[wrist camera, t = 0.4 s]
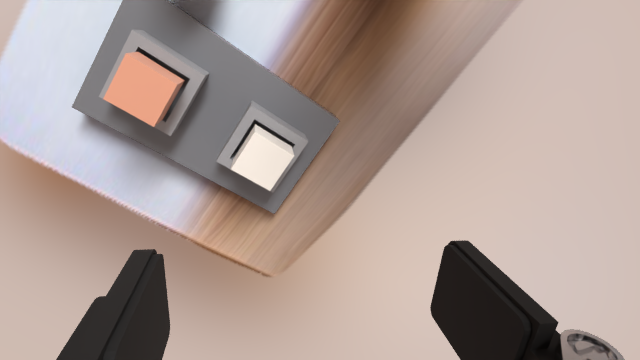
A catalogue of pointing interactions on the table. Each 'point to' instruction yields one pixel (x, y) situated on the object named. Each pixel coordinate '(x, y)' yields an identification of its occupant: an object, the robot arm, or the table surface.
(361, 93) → the table surface
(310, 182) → the table surface
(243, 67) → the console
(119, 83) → the terracotta key
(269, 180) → the pale key
